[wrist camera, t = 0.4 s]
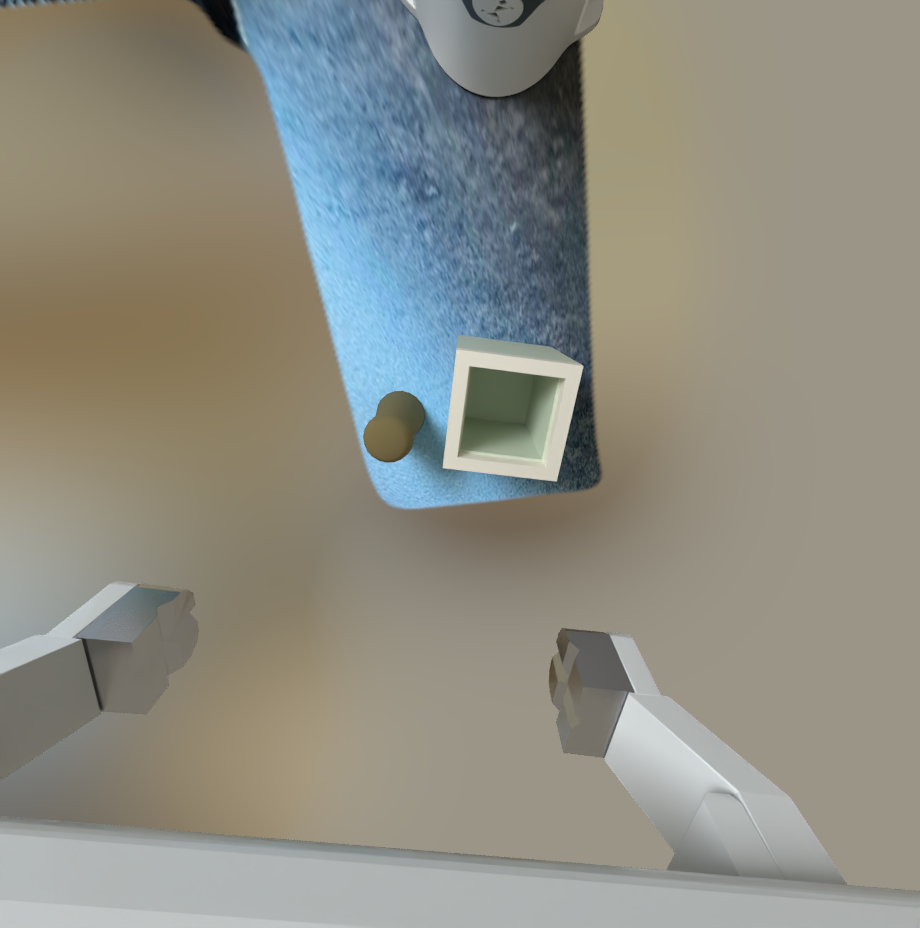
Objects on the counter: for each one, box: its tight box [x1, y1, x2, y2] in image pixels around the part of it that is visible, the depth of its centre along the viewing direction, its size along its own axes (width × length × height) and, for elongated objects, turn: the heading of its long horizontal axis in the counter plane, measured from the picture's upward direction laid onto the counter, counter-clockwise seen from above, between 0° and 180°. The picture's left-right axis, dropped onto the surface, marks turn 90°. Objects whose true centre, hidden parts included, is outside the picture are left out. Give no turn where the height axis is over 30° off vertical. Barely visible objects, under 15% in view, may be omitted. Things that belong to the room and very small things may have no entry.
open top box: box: [443, 335, 583, 482], centre depth 45 cm, size 11×11×14 cm
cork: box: [363, 391, 425, 462], centre depth 48 cm, size 6×6×11 cm
